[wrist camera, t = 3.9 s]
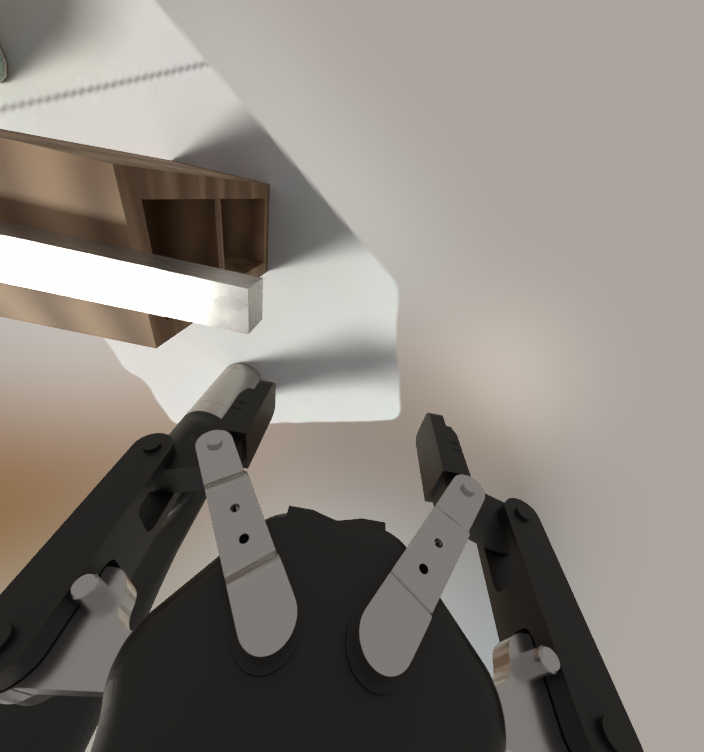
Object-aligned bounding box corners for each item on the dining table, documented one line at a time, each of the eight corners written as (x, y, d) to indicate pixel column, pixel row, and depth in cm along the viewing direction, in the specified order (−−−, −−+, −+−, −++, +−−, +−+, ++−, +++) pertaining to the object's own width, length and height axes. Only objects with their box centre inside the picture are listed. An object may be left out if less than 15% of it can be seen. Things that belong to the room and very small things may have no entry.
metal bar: (262, 278, 21) (247, 288, 19) (262, 319, 23) (248, 334, 21) (-91, 199, 20) (-158, 199, 17) (-60, 250, 22) (-117, 257, 19)
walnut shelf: (269, 184, 44) (112, 163, 18) (267, 271, 52) (156, 348, 25) (170, 160, 43) (-151, 101, 17) (183, 252, 51) (-23, 312, 25)
